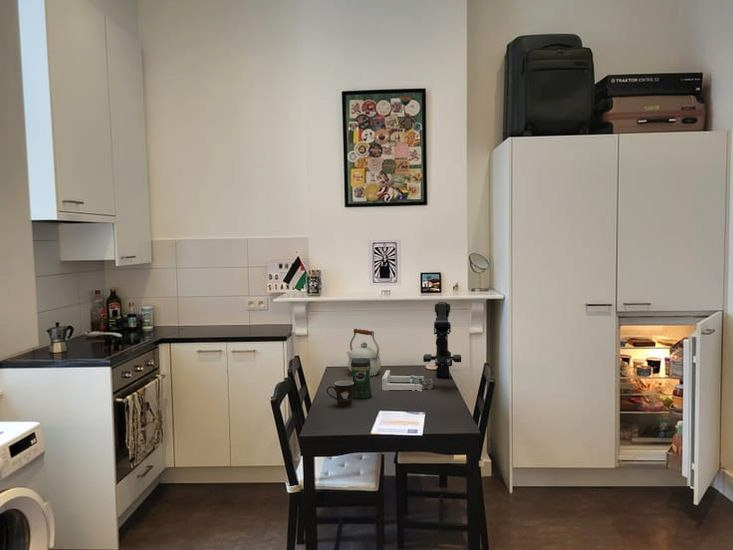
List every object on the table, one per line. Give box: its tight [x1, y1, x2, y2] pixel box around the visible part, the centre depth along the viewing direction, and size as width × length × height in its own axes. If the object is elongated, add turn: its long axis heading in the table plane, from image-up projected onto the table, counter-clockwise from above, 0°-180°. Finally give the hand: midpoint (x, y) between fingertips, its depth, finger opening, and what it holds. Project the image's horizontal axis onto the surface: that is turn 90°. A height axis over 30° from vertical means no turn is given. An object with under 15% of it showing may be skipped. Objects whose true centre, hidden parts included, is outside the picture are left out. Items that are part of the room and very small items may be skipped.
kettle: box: [346, 328, 382, 377], centre depth 299 cm, size 25×18×25 cm
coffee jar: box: [350, 358, 373, 399], centre depth 254 cm, size 10×8×19 cm
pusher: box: [409, 374, 415, 384], centre depth 270 cm, size 1×12×5 cm, turn 171°
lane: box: [381, 369, 425, 392], centre depth 271 cm, size 20×18×6 cm
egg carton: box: [416, 376, 434, 390], centre depth 269 cm, size 11×8×4 cm
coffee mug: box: [326, 380, 354, 408], centre depth 242 cm, size 12×9×10 cm
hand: (442, 375), depth 268 cm, fingers closed
